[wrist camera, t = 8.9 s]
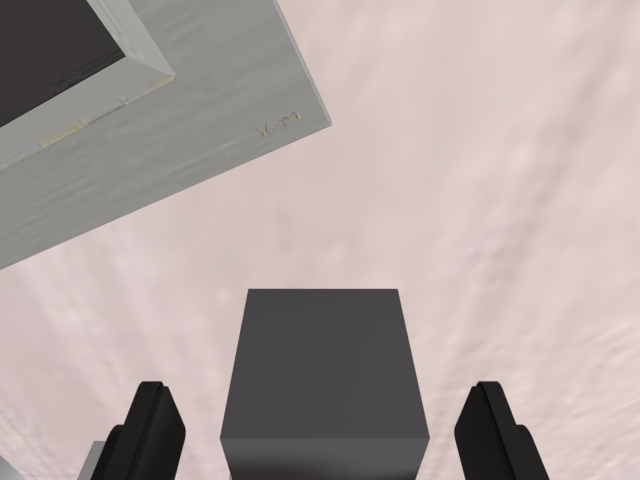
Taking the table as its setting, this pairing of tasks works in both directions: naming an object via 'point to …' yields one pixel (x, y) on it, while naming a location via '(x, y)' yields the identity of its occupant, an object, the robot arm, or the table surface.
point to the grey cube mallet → (324, 389)
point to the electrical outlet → (136, 106)
